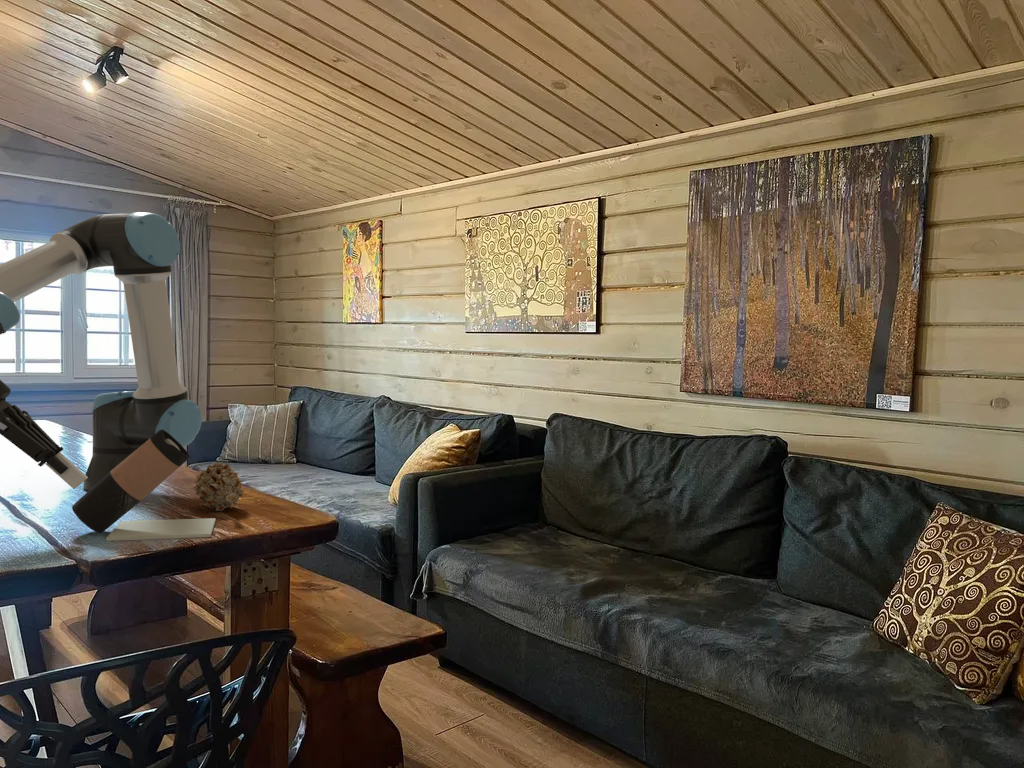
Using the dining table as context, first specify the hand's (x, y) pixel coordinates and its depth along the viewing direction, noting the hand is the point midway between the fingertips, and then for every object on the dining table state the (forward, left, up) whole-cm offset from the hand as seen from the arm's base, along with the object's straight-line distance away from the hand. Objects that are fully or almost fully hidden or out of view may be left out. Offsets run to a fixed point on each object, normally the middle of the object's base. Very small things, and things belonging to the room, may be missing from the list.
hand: (81, 483), depth 133 cm
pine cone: (-22, +17, -10) cm, 30 cm away
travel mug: (-1, +1, -7) cm, 7 cm away
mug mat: (-5, +13, -9) cm, 17 cm away
